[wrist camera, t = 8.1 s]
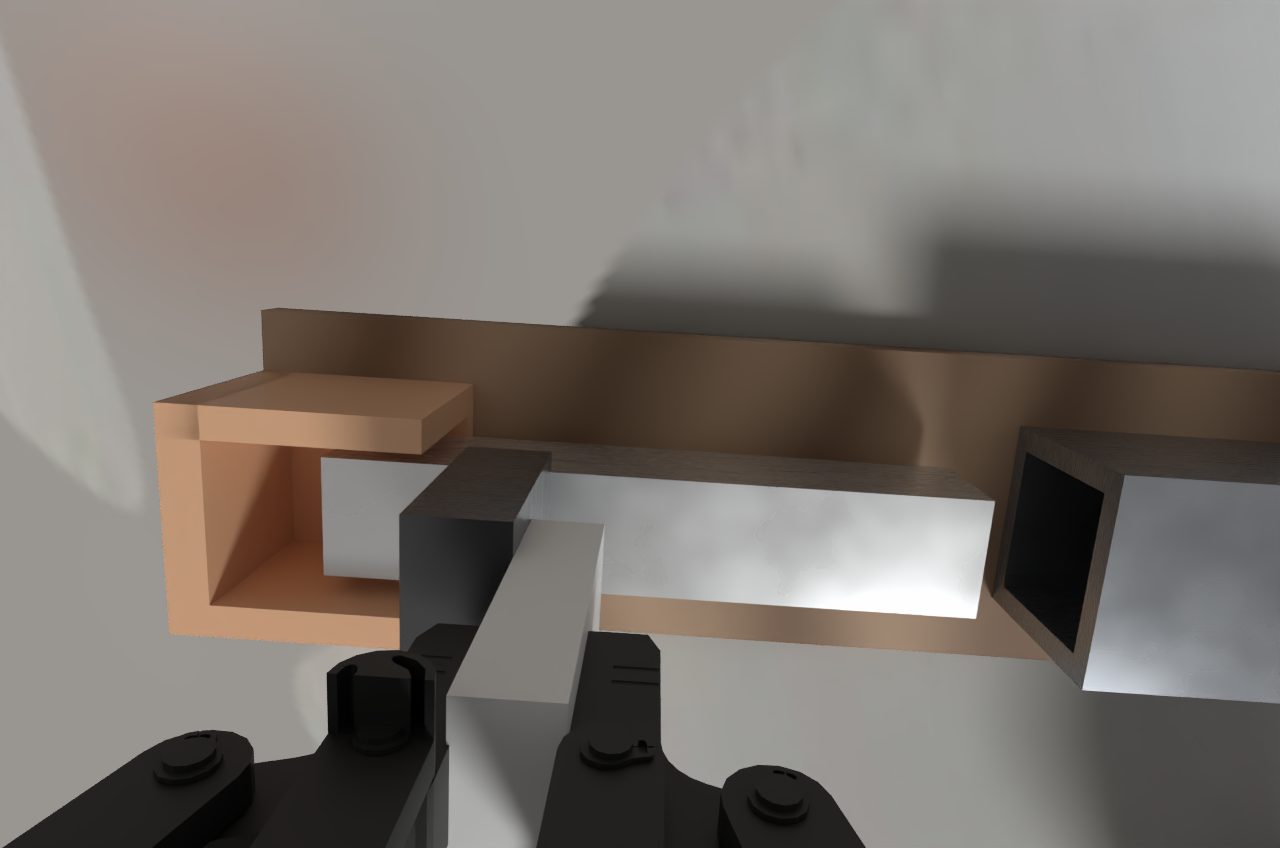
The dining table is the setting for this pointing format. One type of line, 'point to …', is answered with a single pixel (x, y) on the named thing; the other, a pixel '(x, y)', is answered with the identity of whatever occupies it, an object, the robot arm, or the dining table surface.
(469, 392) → the socket
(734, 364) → the board
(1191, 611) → the grey rectangular box
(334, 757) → the robot arm
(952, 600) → the grey angled block
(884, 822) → the dining table surface
